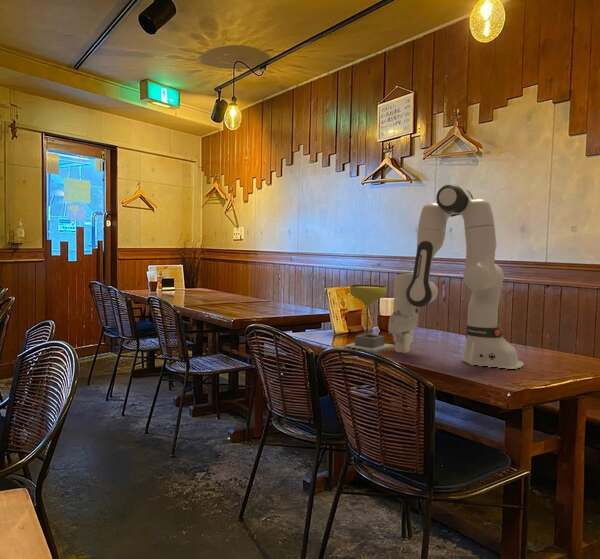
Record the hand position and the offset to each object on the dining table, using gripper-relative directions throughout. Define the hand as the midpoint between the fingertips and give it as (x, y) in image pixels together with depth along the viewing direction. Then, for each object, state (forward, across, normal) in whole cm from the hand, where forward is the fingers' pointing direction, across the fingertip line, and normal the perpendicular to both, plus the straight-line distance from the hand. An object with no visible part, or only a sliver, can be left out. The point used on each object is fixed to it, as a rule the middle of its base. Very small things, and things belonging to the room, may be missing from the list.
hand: (402, 342), depth 212 cm
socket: (+4, -2, +15) cm, 16 cm away
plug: (+4, 0, 0) cm, 4 cm away
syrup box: (+4, +18, +8) cm, 20 cm away
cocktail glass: (+4, +22, +31) cm, 38 cm away
